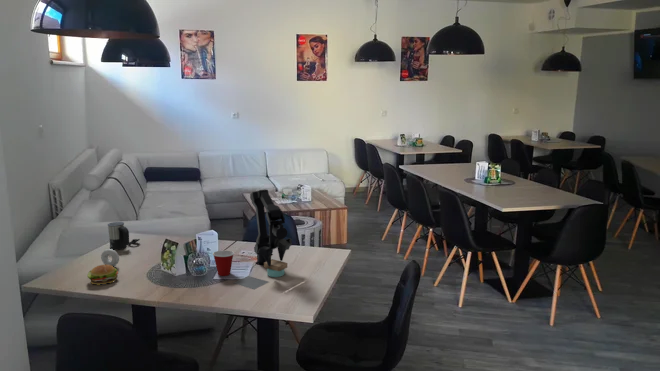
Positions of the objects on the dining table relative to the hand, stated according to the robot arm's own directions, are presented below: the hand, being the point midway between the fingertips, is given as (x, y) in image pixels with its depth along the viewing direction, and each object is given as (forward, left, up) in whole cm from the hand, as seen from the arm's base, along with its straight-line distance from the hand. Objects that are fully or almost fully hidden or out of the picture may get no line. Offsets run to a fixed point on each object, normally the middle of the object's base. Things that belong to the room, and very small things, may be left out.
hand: (275, 263), depth 249 cm
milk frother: (-106, -14, -7) cm, 107 cm away
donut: (-81, -39, -7) cm, 90 cm away
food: (-66, -53, -7) cm, 85 cm away
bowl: (0, 0, -6) cm, 6 cm away
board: (0, 0, -2) cm, 2 cm away
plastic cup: (-22, -14, -7) cm, 27 cm away
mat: (-3, -15, -6) cm, 17 cm away
